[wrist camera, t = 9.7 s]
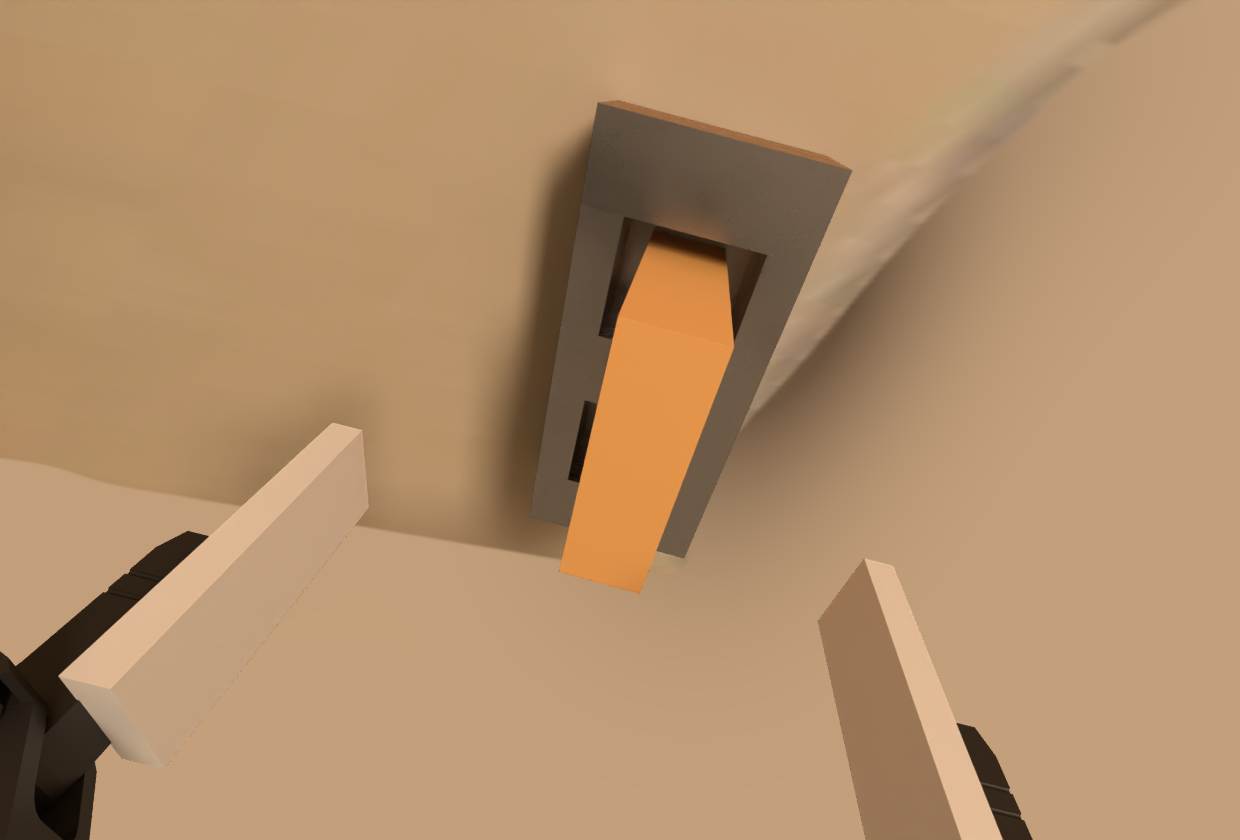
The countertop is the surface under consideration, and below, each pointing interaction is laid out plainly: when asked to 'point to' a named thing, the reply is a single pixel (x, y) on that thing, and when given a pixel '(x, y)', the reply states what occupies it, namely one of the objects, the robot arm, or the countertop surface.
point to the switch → (696, 210)
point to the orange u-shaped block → (650, 409)
